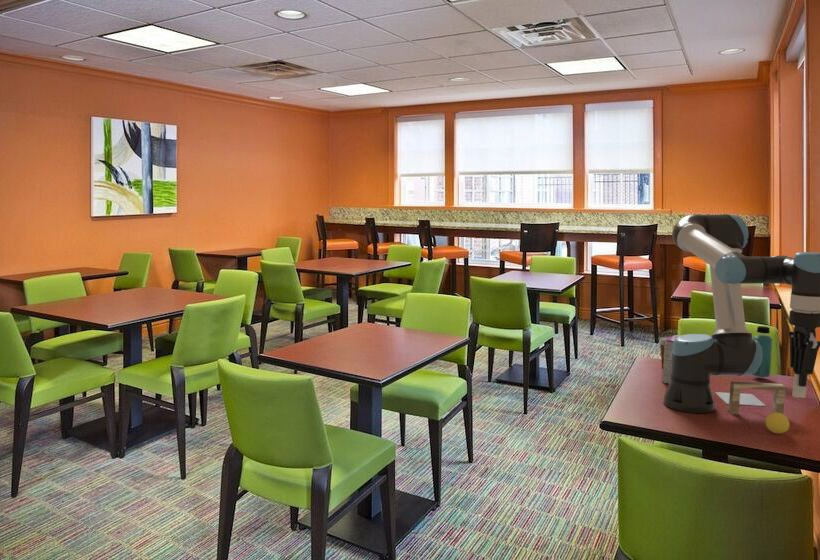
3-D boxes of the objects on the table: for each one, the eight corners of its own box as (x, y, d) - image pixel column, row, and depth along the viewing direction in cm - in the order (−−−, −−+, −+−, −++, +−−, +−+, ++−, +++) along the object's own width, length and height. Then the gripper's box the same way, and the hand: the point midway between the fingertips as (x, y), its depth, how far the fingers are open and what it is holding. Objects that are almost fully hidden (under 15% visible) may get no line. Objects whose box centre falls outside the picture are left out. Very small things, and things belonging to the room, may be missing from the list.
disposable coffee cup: (653, 365, 247) (654, 336, 245) (675, 365, 248) (677, 336, 246) (665, 372, 238) (667, 342, 236) (688, 371, 239) (690, 341, 237)
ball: (769, 436, 175) (771, 416, 174) (761, 428, 180) (763, 408, 180) (792, 437, 174) (794, 417, 173) (783, 429, 179) (785, 410, 179)
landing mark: (726, 404, 201) (726, 403, 201) (715, 392, 213) (715, 392, 213) (765, 406, 199) (765, 405, 199) (752, 394, 211) (752, 394, 211)
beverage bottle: (773, 381, 227) (777, 328, 224) (755, 381, 227) (759, 328, 224) (763, 376, 233) (767, 324, 230) (746, 375, 233) (750, 324, 230)
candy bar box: (671, 376, 232) (674, 334, 230) (685, 378, 229) (688, 336, 227) (661, 382, 224) (663, 339, 222) (675, 385, 221) (678, 341, 219)
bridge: (783, 416, 190) (785, 386, 189) (731, 413, 192) (734, 384, 191) (779, 413, 193) (781, 383, 191) (728, 410, 195) (730, 381, 194)
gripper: (834, 315, 154) (826, 405, 157) (810, 307, 167) (802, 390, 170) (802, 314, 155) (794, 403, 158) (780, 306, 168) (773, 388, 171)
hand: (798, 396), depth 164 cm, fingers closed
